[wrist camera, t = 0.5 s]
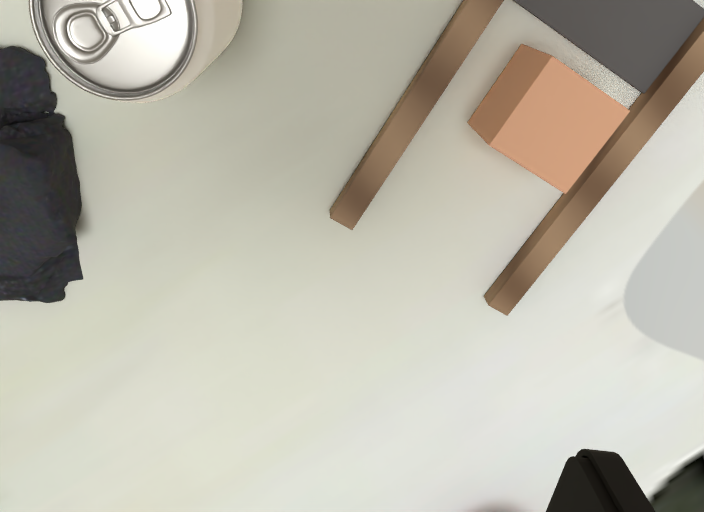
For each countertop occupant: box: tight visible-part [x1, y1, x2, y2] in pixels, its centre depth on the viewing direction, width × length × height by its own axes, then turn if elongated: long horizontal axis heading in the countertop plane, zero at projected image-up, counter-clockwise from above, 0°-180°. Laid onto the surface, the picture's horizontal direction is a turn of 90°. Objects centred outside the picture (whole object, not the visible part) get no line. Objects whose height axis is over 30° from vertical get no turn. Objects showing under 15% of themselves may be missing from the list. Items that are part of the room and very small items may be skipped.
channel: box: [330, 0, 704, 315], centre depth 36 cm, size 20×13×1 cm, turn 148°
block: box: [467, 44, 630, 194], centre depth 34 cm, size 5×5×5 cm
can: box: [29, 0, 242, 103], centre depth 27 cm, size 6×6×12 cm
